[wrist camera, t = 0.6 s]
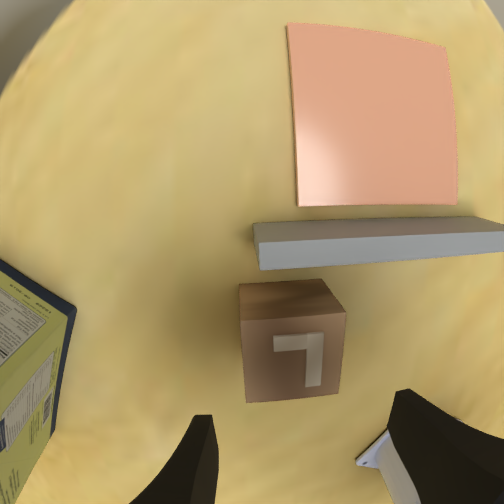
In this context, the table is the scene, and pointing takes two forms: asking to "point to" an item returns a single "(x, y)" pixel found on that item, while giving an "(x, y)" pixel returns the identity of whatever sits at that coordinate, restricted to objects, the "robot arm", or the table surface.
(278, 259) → the slate screen
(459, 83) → the table surface
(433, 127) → the terracotta tile
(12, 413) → the protein box
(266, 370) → the walnut cube
